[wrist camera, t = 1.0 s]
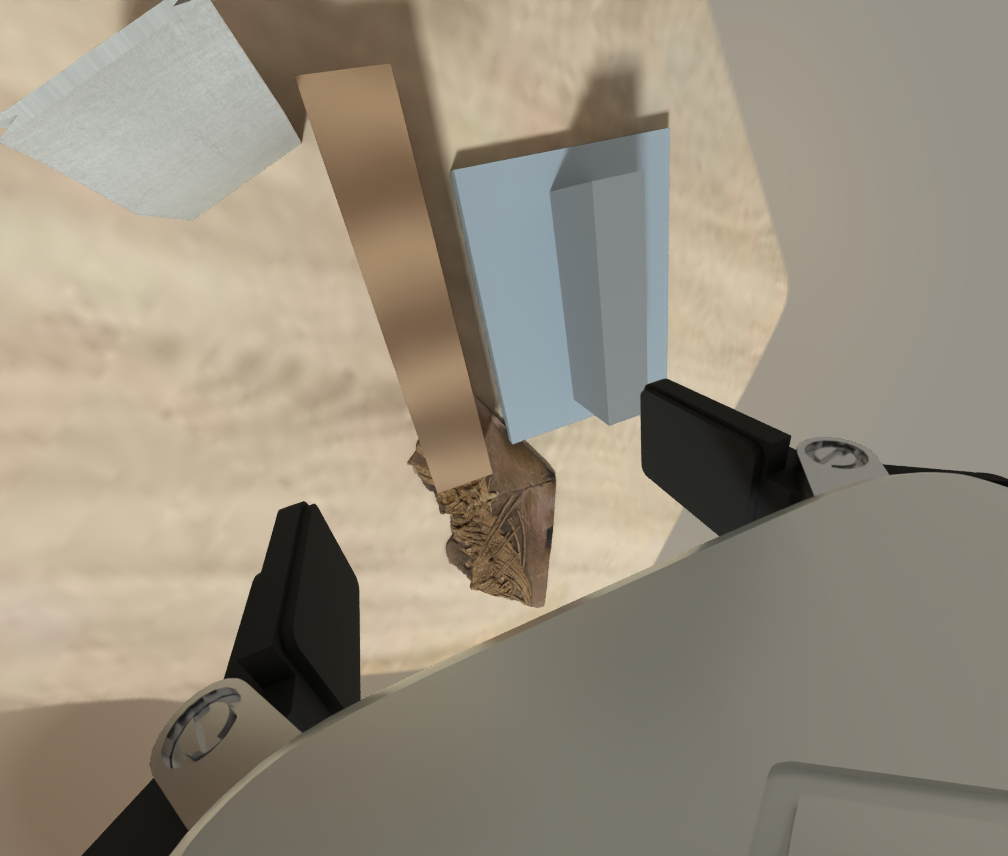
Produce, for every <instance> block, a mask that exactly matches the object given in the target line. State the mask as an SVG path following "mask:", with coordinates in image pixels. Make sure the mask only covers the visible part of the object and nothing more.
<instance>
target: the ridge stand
mask: <svg viewBox="0 0 1008 856" xmlns="http://www.w3.org/2000/svg"><path fill="white" fill-rule="evenodd" d="M669 150H670V128H665V129H660V130H655V131H650V132H645V133H640V134H634V135H629V136H624V137H619V138H614V139H609V140H604V141H599V142H594V143H589V144H583V145H578V146H573V147H568V148H563V149H558V150H553V151H548V152H543V153H537V154H532V155H527V156H522V157H517V158H512V159H507V160H502V161H497V162H492V163H486V164H481V165H476V166H471V167H466V168H461V169H456V170H453V171H452V172H450V175H451V179H452V184H453V188H454V193H455V197H456V202H457V207H458V211H459V216H460V220H461V225H462V230H463V234H464V239H465V243H466V248H467V252H468V257H469V262H470V266H471V271H472V275H473V280H474V285H475V289H476V294H477V298H478V303H479V307H480V312H481V317H482V321H483V326H484V330H485V335H486V340H487V344H488V349H489V353H490V358H491V362H492V367H493V372H494V376H495V381H496V385H497V390H498V395H499V399H500V404H501V408H502V413H503V417H504V422H505V426H506V428H507V432H508V437H509V440H510V442H511V443H512V444H515V443H518V442H520V441H523V440H526V439H529V438H532V437H535V436H538V435H540V434H543V433H546V432H549V431H552V430H555V429H558V428H560V427H563V426H566V425H569V424H572V423H575V422H578V421H580V420H583V419H586V418H589V417H592V416H597V417H598V418H599V419H601V420H602V421H603V422H605V423H606V424H607V425H609V426H610V425H613V424H616V423H618V422H621V421H624V420H627V419H630V418H632V417H635V416H638V415H641V411H640V394H641V392H642V391H644V388H645V386H646V385H647V384H649V383H652V382H655V381H658V380H661V379H667V336H668V243H669Z"/></svg>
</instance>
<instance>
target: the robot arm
mask: <svg viewBox="0 0 1008 856" xmlns="http://www.w3.org/2000/svg"><path fill="white" fill-rule="evenodd" d="M640 411H641V462H642V469H643V471H644V473H645V475H646V476H647V477H648V478H649V479H651V480H652V481H653V482H654V483H656V484H657V485H658V486H659V487H660V488H662V489H663V490H664V491H665V492H666V493H668V494H669V495H670V496H671V497H672V498H674V499H675V500H676V501H677V502H679V503H680V504H681V505H682V506H683V507H685V508H686V509H687V510H688V511H690V512H691V513H692V514H693V515H694V516H695V517H697V518H698V519H699V520H700V521H702V522H703V523H704V524H705V525H706V526H708V527H709V528H710V529H711V530H712V531H714V532H715V533H716V534H717V535H718V536H719V537H717V538H715V539H713V540H710V541H708V542H706V543H704V544H701V545H699V546H697V547H695V548H692V549H690V550H688V551H685V552H683V553H681V554H679V555H676V556H674V557H672V558H670V559H667V560H665V561H663V562H661V563H659V564H656V565H654V566H652V567H649V568H647V569H645V570H643V571H640V572H638V573H636V574H634V575H631V576H629V577H627V578H625V579H623V580H620V581H618V582H616V583H614V584H611V585H609V586H607V587H605V588H602V589H600V590H598V591H596V592H594V593H591V594H589V595H587V596H585V597H582V598H580V599H578V600H576V601H573V602H571V603H569V604H567V605H565V606H562V607H560V608H558V609H556V610H553V611H551V612H549V613H547V614H545V615H542V616H540V617H538V618H536V619H534V620H531V621H529V622H527V623H525V624H523V625H520V626H518V627H516V628H514V629H512V630H509V631H507V632H505V633H503V634H501V635H498V636H496V637H494V638H492V639H490V640H487V641H485V642H483V643H481V644H479V645H476V646H474V647H472V648H470V649H468V650H465V651H463V652H461V653H459V654H457V655H454V656H452V657H450V658H448V659H446V660H444V661H442V662H439V663H437V664H435V665H433V666H431V667H429V668H427V669H425V670H423V671H420V672H418V673H416V674H414V675H412V676H410V677H408V678H406V679H404V680H401V681H399V682H397V683H395V684H393V685H391V686H389V687H387V688H385V689H383V690H380V691H378V692H376V693H374V694H372V695H370V696H368V697H366V698H364V699H362V700H360V608H359V584H358V581H357V578H356V576H355V574H354V572H353V570H352V568H351V566H350V565H349V563H348V561H347V559H346V557H345V556H344V554H343V552H342V550H341V548H340V546H339V545H338V543H337V541H336V539H335V537H334V536H333V534H332V532H331V530H330V528H329V526H328V525H327V523H326V521H325V519H324V517H323V516H322V514H321V512H320V510H319V508H318V507H317V505H316V504H312V505H308V504H307V503H306V502H304V501H303V502H300V503H297V504H294V505H291V506H288V507H285V508H282V509H280V510H279V511H278V514H277V517H276V521H275V524H274V528H273V532H272V535H271V539H270V542H269V546H268V549H267V553H266V556H265V560H264V564H263V567H262V571H261V573H259V574H258V575H256V576H255V578H254V580H253V582H252V586H251V589H250V593H249V596H248V599H247V603H246V606H245V609H244V613H243V616H242V619H241V623H240V626H239V630H238V633H237V636H236V640H235V643H234V646H233V650H232V653H231V656H230V660H229V663H228V667H227V670H226V673H225V677H224V680H221V681H218V682H215V683H212V684H211V685H209V686H207V687H205V688H204V689H202V690H200V691H199V692H197V693H196V694H195V695H194V696H192V697H191V698H190V699H189V700H187V701H186V702H185V703H184V704H183V705H182V706H181V707H180V708H179V709H178V710H177V711H176V712H175V713H174V715H173V716H172V717H171V718H170V719H169V721H168V722H167V723H166V725H165V726H164V728H163V729H162V731H161V732H160V733H159V736H158V738H157V740H156V742H155V744H154V746H153V748H152V752H151V757H150V763H149V765H150V769H151V773H152V776H153V777H154V778H153V779H152V780H151V781H150V783H149V784H148V785H147V786H146V787H145V788H144V789H143V790H142V791H141V792H140V793H139V794H138V796H136V798H135V799H134V800H133V801H132V802H131V803H130V804H129V805H128V806H127V807H126V808H125V809H124V811H123V812H122V813H121V814H120V815H119V816H118V817H117V818H116V819H115V820H114V821H113V822H112V824H111V825H110V826H109V827H108V828H107V829H106V830H105V831H104V832H103V833H102V834H101V835H100V836H99V838H98V839H97V840H96V841H95V842H94V843H93V844H92V845H91V846H90V847H89V848H88V849H87V850H86V851H85V853H84V854H83V855H82V856H1008V479H1006V478H1004V477H1001V476H998V475H994V474H989V473H973V472H965V471H953V470H941V469H929V468H918V467H907V466H895V465H883V464H882V463H881V462H880V460H879V458H878V457H877V456H876V455H875V454H874V453H873V452H872V451H871V450H870V449H868V448H867V447H865V446H863V445H861V444H858V443H856V442H853V441H850V440H845V439H841V438H833V437H815V438H810V439H806V440H804V441H803V442H801V443H799V445H798V446H797V449H796V450H795V449H793V448H791V447H789V445H790V440H791V435H788V434H786V433H784V432H782V431H780V430H777V429H775V428H773V427H771V426H769V425H767V424H765V423H762V422H760V421H758V420H756V419H754V418H752V417H749V416H747V415H745V414H743V413H741V412H738V411H736V410H734V409H732V408H730V407H728V406H725V405H723V404H721V403H719V402H717V401H715V400H712V399H710V398H708V397H706V396H704V395H701V394H699V393H697V392H695V391H693V390H691V389H688V388H686V387H684V386H682V385H680V384H678V383H675V382H673V381H671V380H669V379H661V380H658V381H655V382H652V383H649V384H647V385H646V386H645V388H644V391H642V392H641V394H640Z"/></svg>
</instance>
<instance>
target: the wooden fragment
mask: <svg viewBox="0 0 1008 856" xmlns="http://www.w3.org/2000/svg"><path fill="white" fill-rule="evenodd" d="M473 396H474V395H473ZM474 400H475V404H476V408H477V412H478V416H479V421H480V425H481V429H482V433H483V437H484V441H485V445H486V449H487V453H488V457H489V461H490V465H491V469H492V473H493V474H490V475H488V476H485V477H482V478H479V479H477V480H474V481H471V482H468V483H465V484H463V485H460V486H457V487H454V488H451V489H449V490H446V491H443V492H440V493H437V490H436V488H435V485H434V482H433V479H432V476H431V473H430V470H429V467H428V464H427V461H426V458H425V455H424V453H423V450H422V447H421V444H420V441H419V440H418V441H417V444H416V452H415V453H414V454H413V456H412V457H411V458H410V460H409V461H408V462H407V465H412V466H413V469H414V472H415V473H416V474H418V476H419V477H420V478H421V479H422V481H423V484H424V485H425V486H426V488H427V489H428V490H429V491H434V493H435V497H436V498H437V502H438V504H439V509H440V513H441V514H445V513H447V514H451V517H450V518H451V521H450V523H451V530H452V535H451V537H450V539H449V541H448V544H447V545H446V553H447V557H448V559H449V563H451V564H453V565H455V566H457V568H458V569H459V570H461V571H462V572H463V574H466V575H467V578H469V579H470V581H471V584H470V588H471V590H480V591H482V592H484V593H488V594H490V595H493V596H498V597H499V596H501V597H504V598H507V599H510V600H516V601H520V602H522V603H523V604H524V605H527V606H531V607H536V608H540V607H543V606H544V604H545V598H546V589H547V579H548V568H549V558H550V551H551V543H552V533H553V521H554V509H555V506H554V500H555V499H554V498H555V493H556V482H555V480H554V482H553V481H552V482H549V483H548V480H551V479H552V480H553V479H555V475H554V474H553V473H552V472H551V471H549V470H548V469H547V467H546V466H545V465H544V464H543V463H541V462H540V460H538V459H537V458H536V456H535V455H534V454H533V453H532V452H531V451H529V450H528V448H526V447H525V446H524V445H523V444H522V443H521V442H518V443H515V444H512V443H511V442H510V440H509V437H508V432H507V428H506V426H505V425H504V424H503V423H501V422H500V421H499V419H498V418H497V417H495V416H494V415H493V413H492V412H491V411H489V410H488V408H487V407H486V406H484V405H483V404H482V403H481V402H480V401H479V400H478V399H477V398H476V397H475V396H474Z"/></svg>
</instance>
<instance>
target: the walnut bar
mask: <svg viewBox="0 0 1008 856" xmlns="http://www.w3.org/2000/svg"><path fill="white" fill-rule="evenodd" d="M294 77H295V79H296V82H297V85H298V88H299V91H300V94H301V97H302V100H303V103H304V106H305V109H306V112H307V114H308V117H309V120H310V123H311V126H312V129H313V132H314V135H315V138H316V141H317V144H318V147H319V149H320V152H321V155H322V158H323V161H324V164H325V167H326V170H327V173H328V176H329V179H330V181H331V184H332V187H333V190H334V193H335V196H336V199H337V202H338V205H339V208H340V211H341V214H342V216H343V219H344V222H345V225H346V228H347V231H348V234H349V237H350V240H351V243H352V246H353V249H354V251H355V254H356V257H357V260H358V263H359V266H360V269H361V272H362V275H363V278H364V281H365V284H366V286H367V289H368V292H369V295H370V298H371V301H372V304H373V307H374V310H375V313H376V316H377V318H378V321H379V324H380V327H381V330H382V333H383V336H384V339H385V342H386V345H387V348H388V351H389V353H390V356H391V359H392V362H393V365H394V368H395V371H396V374H397V377H398V380H399V383H400V386H401V388H402V391H403V394H404V397H405V400H406V403H407V406H408V409H409V412H410V415H411V418H412V421H413V423H414V426H415V429H416V432H417V435H418V438H419V441H420V444H421V447H422V450H423V453H424V455H425V458H426V461H427V464H428V467H429V470H430V473H431V476H432V479H433V482H434V485H435V488H436V490H437V493H440V492H443V491H446V490H449V489H451V488H454V487H457V486H460V485H463V484H465V483H468V482H471V481H474V480H477V479H479V478H482V477H485V476H488V475H490V474H493V473H492V469H491V465H490V461H489V457H488V453H487V449H486V445H485V441H484V437H483V433H482V429H481V425H480V421H479V416H478V412H477V408H476V404H475V400H474V396H473V392H472V388H471V384H470V380H469V376H468V372H467V368H466V364H465V360H464V356H463V352H462V348H461V344H460V340H459V336H458V332H457V328H456V324H455V320H454V316H453V312H452V308H451V304H450V300H449V296H448V292H447V288H446V284H445V280H444V276H443V272H442V268H441V264H440V260H439V256H438V252H437V248H436V244H435V240H434V236H433V232H432V228H431V224H430V220H429V216H428V212H427V208H426V204H425V200H424V196H423V192H422V188H421V184H420V180H419V175H418V171H417V167H416V163H415V159H414V155H413V151H412V147H411V143H410V139H409V135H408V131H407V127H406V123H405V119H404V115H403V111H402V107H401V103H400V99H399V95H398V91H397V87H396V83H395V79H394V75H393V71H392V67H391V63H388V64H380V65H372V66H365V67H357V68H349V69H342V70H334V71H326V72H319V73H311V74H303V75H296V76H294Z"/></svg>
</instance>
